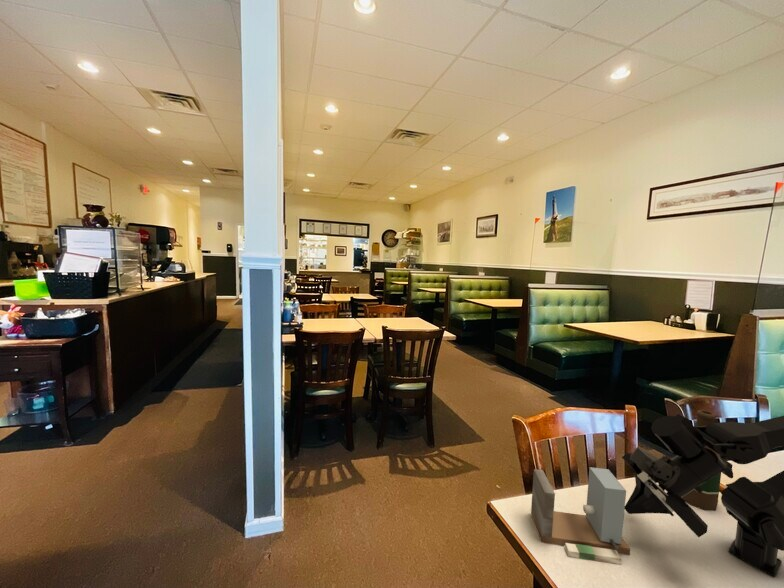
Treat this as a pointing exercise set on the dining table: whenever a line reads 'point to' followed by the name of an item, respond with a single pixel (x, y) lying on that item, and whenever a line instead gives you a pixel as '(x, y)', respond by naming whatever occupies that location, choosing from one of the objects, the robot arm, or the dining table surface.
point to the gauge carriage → (605, 505)
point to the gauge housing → (569, 527)
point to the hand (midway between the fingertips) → (626, 511)
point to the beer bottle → (710, 487)
